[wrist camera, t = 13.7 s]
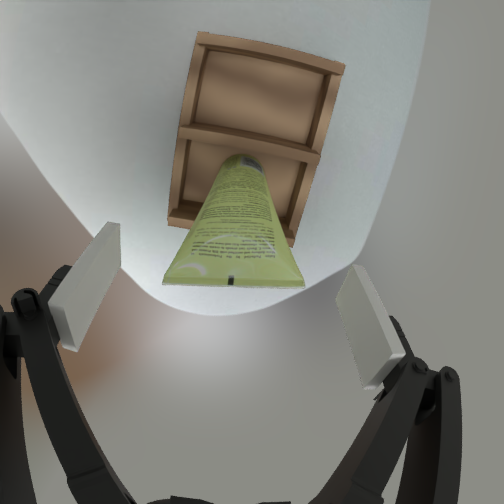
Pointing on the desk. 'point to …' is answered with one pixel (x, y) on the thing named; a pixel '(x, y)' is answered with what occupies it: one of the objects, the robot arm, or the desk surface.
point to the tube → (236, 236)
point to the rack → (252, 122)
